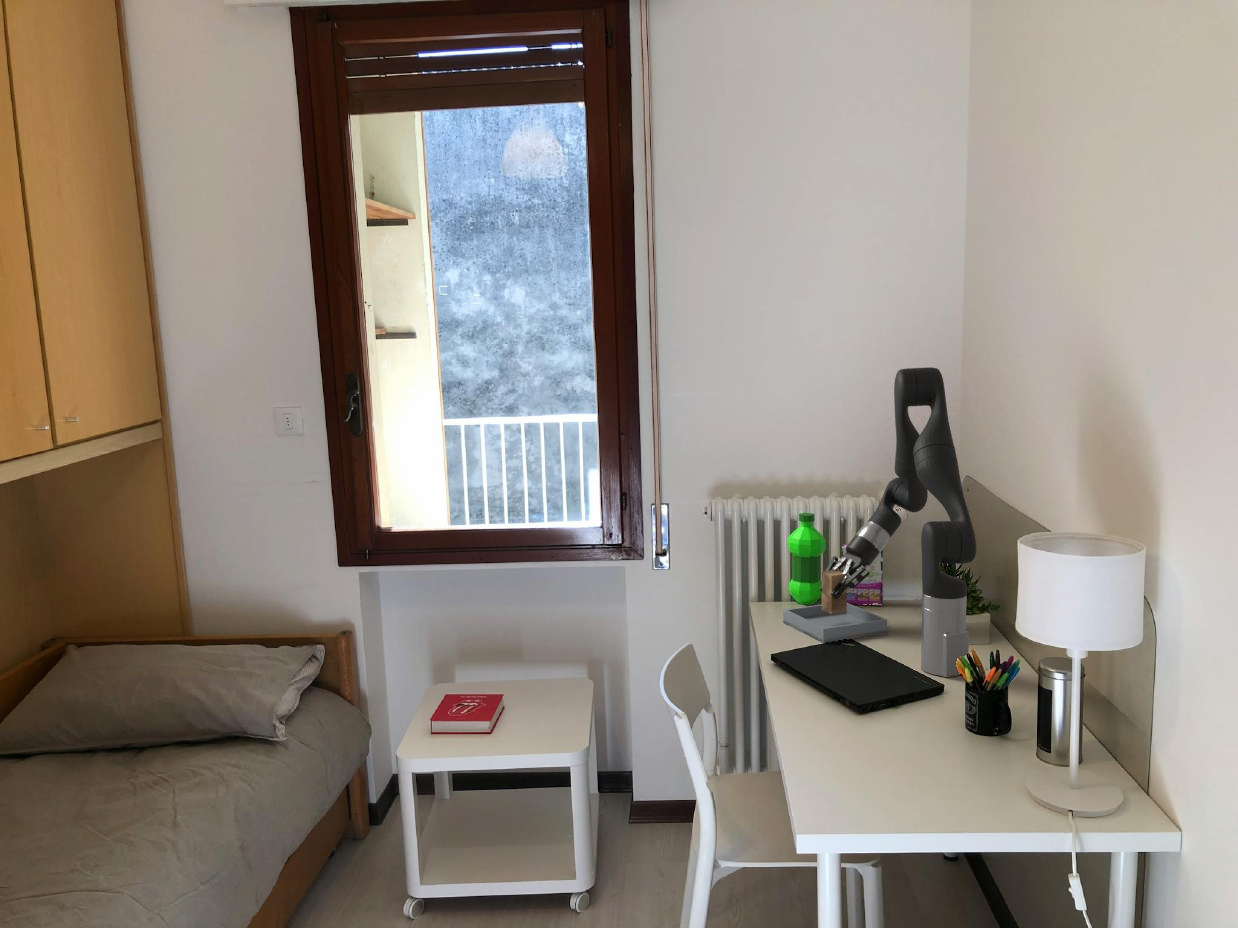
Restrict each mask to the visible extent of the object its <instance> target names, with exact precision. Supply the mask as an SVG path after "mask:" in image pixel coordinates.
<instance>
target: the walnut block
mask: <svg viewBox="0 0 1238 928" xmlns="http://www.w3.org/2000/svg"><path fill="white" fill-rule="evenodd" d="M843 577H844V574H843V572H841V571H839V570H838V571H834V570H830V571H826V570H825V571H821V581H822V597H821V604H822V610H823V611H825V612H827V613H829V614H831V615H832V614H839V613H846V612H847V589H845V591H844V592H843V593H842V595H841V596H840V597H839V598H838V599H834V598H833V597H832V596H831V592H832V591H833V590H834V589H835V587H836V586H837V585H838V583H840V581H841V579H842V578H843ZM846 580H847V579H846ZM840 584H841V583H840Z"/></svg>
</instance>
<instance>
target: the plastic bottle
mask: <svg viewBox="0 0 1238 928" xmlns="http://www.w3.org/2000/svg"><path fill="white" fill-rule="evenodd" d="M798 521H799V522H800V526H799V527H798V528H796V529H795V530H794V531H793V532H792V533H791V534H790V535H789V536H788V538H787V547H788V548H787V549H788V551H789V552H790V553H791V561H792V562H791V570H792V571H791V574H792V575H791V580H790V581H789V583H788V592H789V593H790V595H791V597H792V598H793V599H794V600H795V601H796V602H797V603H798V604H802V605H813V604H816V603H817V601H819V600H820V599H822V592H821V591H820V590H819V588H820V587H821V585H822V555H823V553H825V551H826V545H827V543H826V539H825V537H824V536H823V534H822V533H820V532H819V530H817V529H816V528H815V527H814V526H813V522H815V513H812V512H801V513H800V512H799V513H798Z"/></svg>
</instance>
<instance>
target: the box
mask: <svg viewBox="0 0 1238 928" xmlns="http://www.w3.org/2000/svg"><path fill="white" fill-rule="evenodd" d="M782 610H783V611H782V613H783V615H782V617H783V618H782V620H783V621H782V623H783V624H785V625H787V626H788V627H791V628H793V629H794V630H796V631H799V632H800V633H803V634H804V635H807V636H808V637H811V638H812V639H814V640H816V641H817V642H820V643H822V644H826V642H828V643H833V642H832V641H834V642H838V640H841V639H847V640H851V639H852V640H854V639H858V638H864V637H871V636H872V637H873V636H877V635H885V634H884V633H886V634H888V619H887V618H885V617H882V616H879V615H877V614H874V613H872V612H870V611H867V610H866V609H863V608H861V607H858V606H857V605H851V604H849V603H847V612H846V613H839V614H832V615H831V614H829V613H827V612H825V611H823V610H822V603H821V604H815V605H807V606H801V607H800V606H799V607H793V608H786V609H785V608H784V609H782ZM841 641H842V640H841Z"/></svg>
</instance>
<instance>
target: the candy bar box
mask: <svg viewBox="0 0 1238 928" xmlns="http://www.w3.org/2000/svg"><path fill="white" fill-rule="evenodd" d="M848 544H849V543H842V546H841V557H842V556H843V555H845V554H846V546H847V545H848ZM865 568H866V569H867V570H868V571H869V572H870V574H869V575H868V576H867V577H866V578H865V579H864V580H863V581H861V582H860V583H859V584H858V585H857V586H856V587H855V588H853V589H852V588H851V587H849V588H848V589H847V603H849V604H851V605H854V606H864V605H863V604H867V605H869V604H871V605H872V604H873V603H878V604H884V548H883V549H882V551H881V552H880V553H879V555H878V556H877V557H876V558H875V560H874V561H873V562H872V564H871V565H869V566H865ZM856 580H857V579H855V581H856ZM855 581H854V582H855ZM854 582H853V583H854Z"/></svg>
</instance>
